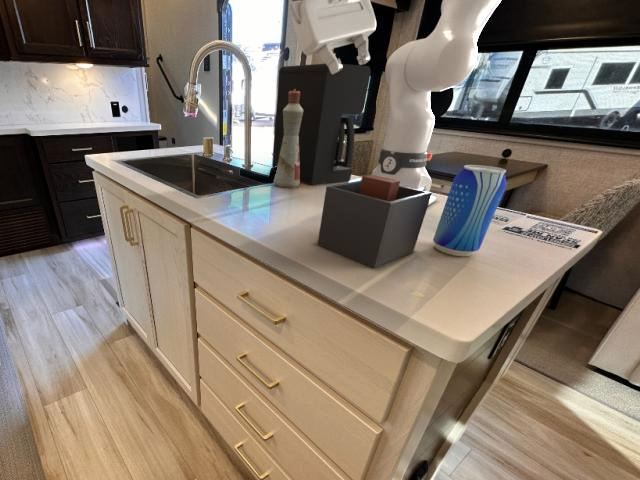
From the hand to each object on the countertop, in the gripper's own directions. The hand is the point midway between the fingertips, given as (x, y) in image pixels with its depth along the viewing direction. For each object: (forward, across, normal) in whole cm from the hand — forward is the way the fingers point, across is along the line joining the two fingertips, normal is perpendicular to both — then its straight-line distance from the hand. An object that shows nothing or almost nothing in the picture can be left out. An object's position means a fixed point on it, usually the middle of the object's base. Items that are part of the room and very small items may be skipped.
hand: (351, 67), depth 66 cm
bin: (+32, -13, +3) cm, 35 cm away
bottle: (+14, +15, +46) cm, 50 cm away
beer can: (+41, 0, -6) cm, 42 cm away
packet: (+32, -13, +2) cm, 34 cm away
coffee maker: (+16, +33, +50) cm, 62 cm away
